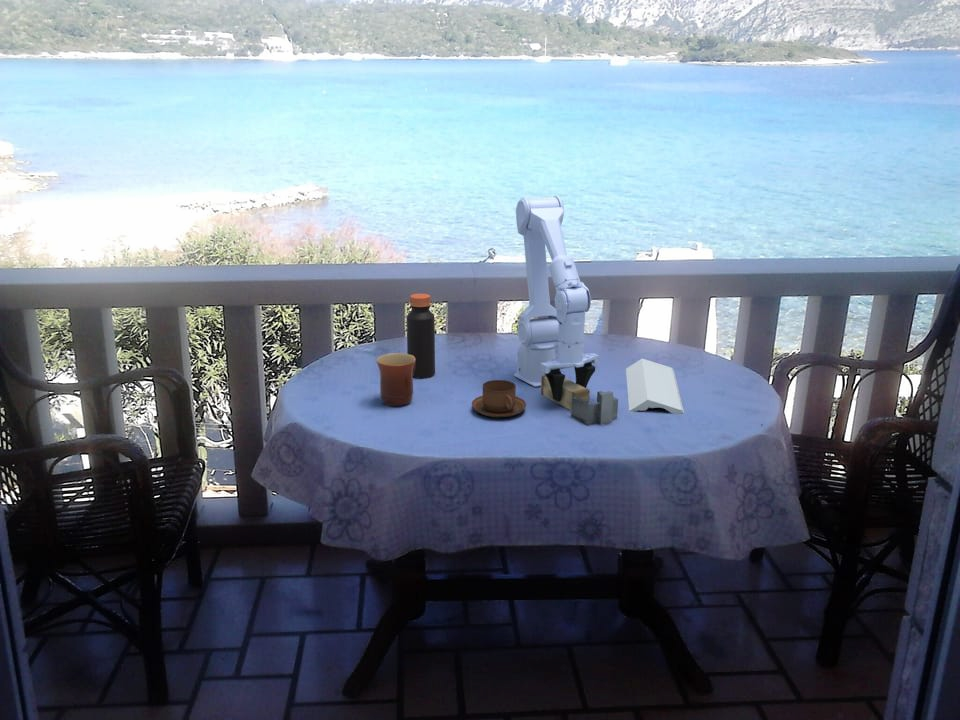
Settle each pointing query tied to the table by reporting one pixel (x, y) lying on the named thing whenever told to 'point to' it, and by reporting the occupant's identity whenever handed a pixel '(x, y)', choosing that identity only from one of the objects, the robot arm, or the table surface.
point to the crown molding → (652, 387)
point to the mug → (396, 378)
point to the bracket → (595, 409)
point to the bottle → (421, 335)
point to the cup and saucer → (499, 399)
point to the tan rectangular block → (565, 392)
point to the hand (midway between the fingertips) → (568, 397)
